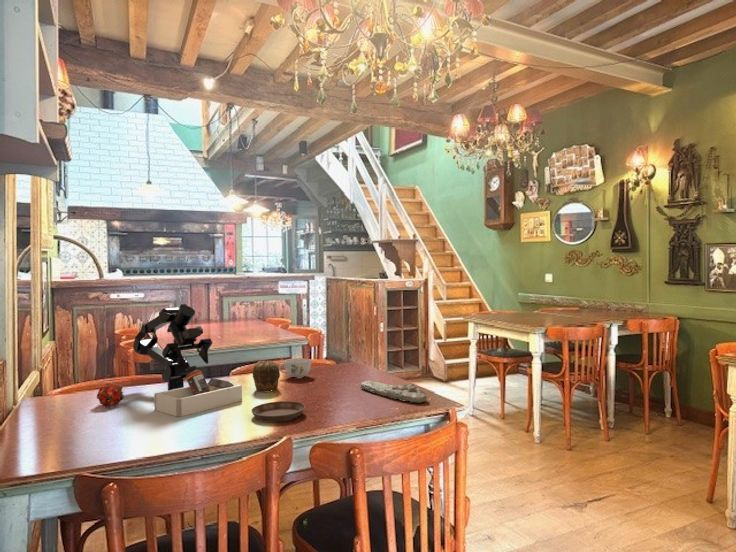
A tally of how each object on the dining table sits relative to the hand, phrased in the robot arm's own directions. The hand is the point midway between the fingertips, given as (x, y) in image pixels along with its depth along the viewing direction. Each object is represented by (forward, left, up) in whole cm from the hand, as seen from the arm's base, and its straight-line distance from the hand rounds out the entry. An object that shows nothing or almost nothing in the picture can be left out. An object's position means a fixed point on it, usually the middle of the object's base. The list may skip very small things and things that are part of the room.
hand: (196, 365), depth 189 cm
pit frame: (+7, -4, -13) cm, 16 cm away
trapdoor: (+7, +5, -11) cm, 14 cm away
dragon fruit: (-20, -23, -14) cm, 33 cm away
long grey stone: (+56, +49, -14) cm, 75 cm away
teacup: (+1, +50, -14) cm, 52 cm away
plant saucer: (+41, +4, -14) cm, 43 cm away
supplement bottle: (+6, -1, -11) cm, 12 cm away
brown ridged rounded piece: (+9, +26, -14) cm, 31 cm away
